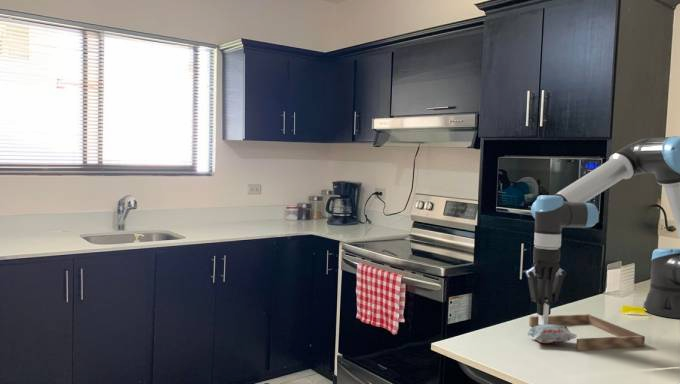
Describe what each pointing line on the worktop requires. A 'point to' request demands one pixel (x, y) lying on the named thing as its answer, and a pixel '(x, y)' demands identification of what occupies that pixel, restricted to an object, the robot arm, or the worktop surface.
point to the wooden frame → (623, 335)
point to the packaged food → (551, 333)
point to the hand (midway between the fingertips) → (543, 325)
